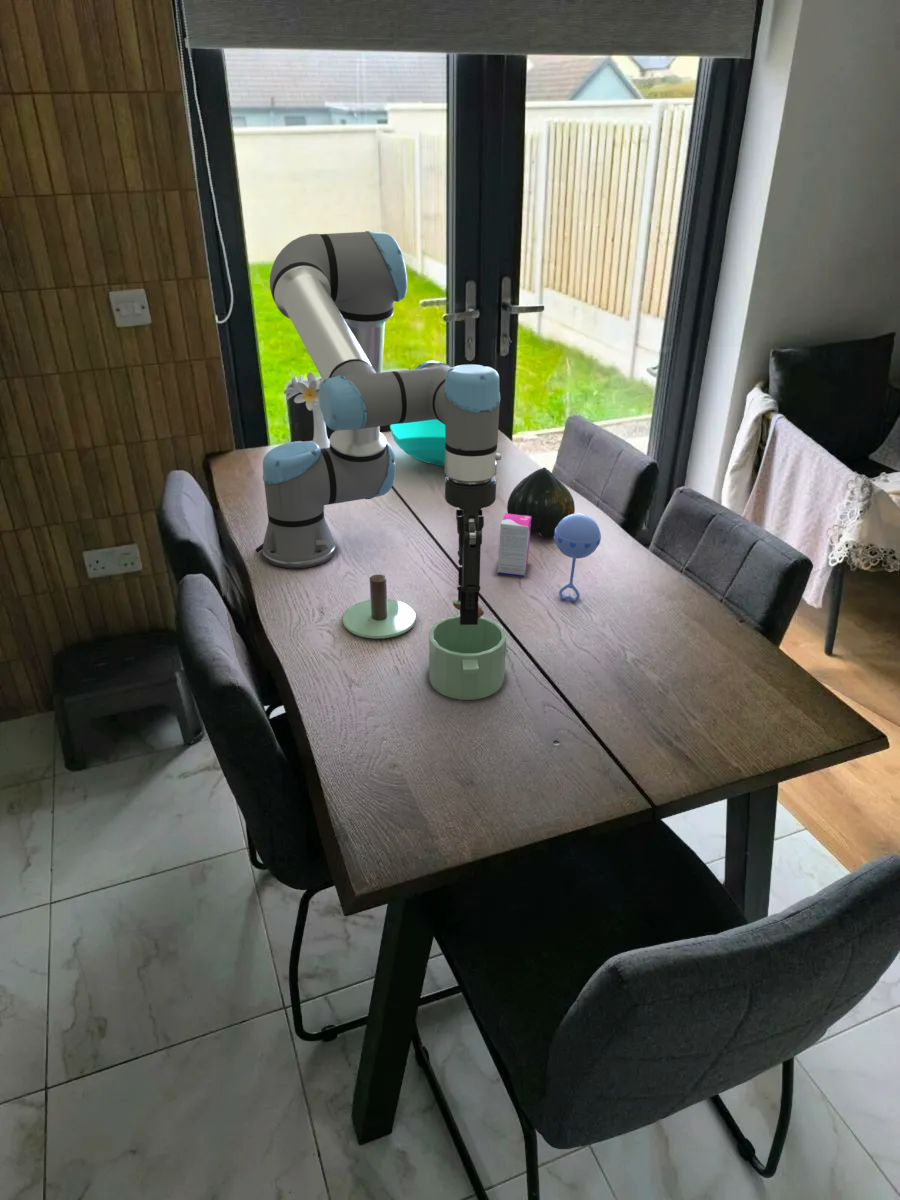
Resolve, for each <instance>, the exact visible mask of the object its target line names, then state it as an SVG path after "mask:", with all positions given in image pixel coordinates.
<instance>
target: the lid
mask: <svg viewBox="0 0 900 1200" xmlns="http://www.w3.org/2000/svg"><path fill="white" fill-rule="evenodd" d="M387 587H388V585H387V576H386V575H384V574H378V573H377V574H373V575H371V576H370V577H369V596H370V599H366V600H362V601H359V602H357V603H354V604H353V605H350V607H348V608H347V609H346V610H345V612H344V613H343V616H342V623H343V626H344V627H345V629H346V630H347V631H349V632H350V633H351V634H353V635H356V636H358V637H362V638H367V639H388V638H394V637H397V636H400V635H403V634H405V633H406V632H408V631H409V630H410V629H412V628H413V627H414V626H415V623H416V620H417V619H416V618H417V616H416V612H415V610H414V609H413V608H412V607H411V606H410V605H409V604H407V603H405V602H402V601H400V600H397V599H390V598H388V589H387Z"/></svg>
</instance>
